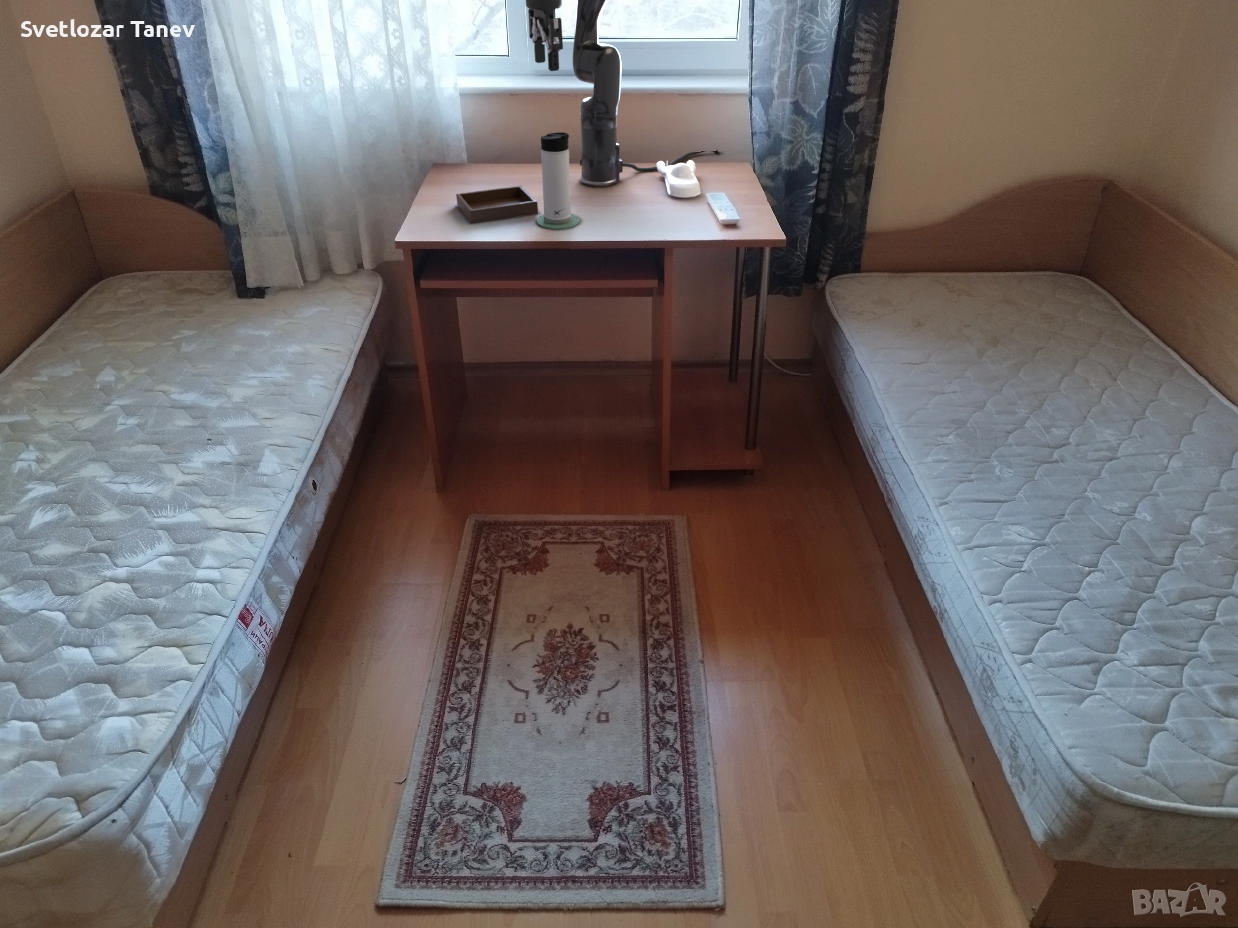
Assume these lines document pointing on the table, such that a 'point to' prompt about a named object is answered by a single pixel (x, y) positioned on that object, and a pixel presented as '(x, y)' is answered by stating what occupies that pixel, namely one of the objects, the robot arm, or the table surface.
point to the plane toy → (680, 179)
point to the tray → (496, 204)
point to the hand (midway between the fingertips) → (546, 66)
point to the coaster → (571, 223)
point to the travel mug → (556, 178)
